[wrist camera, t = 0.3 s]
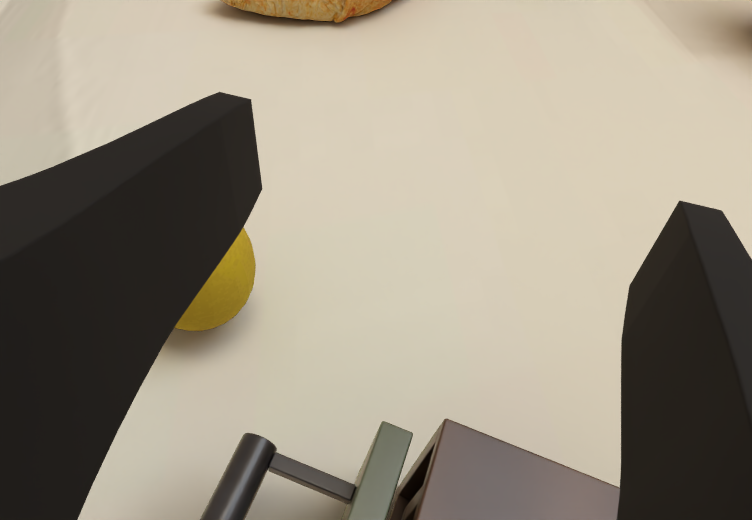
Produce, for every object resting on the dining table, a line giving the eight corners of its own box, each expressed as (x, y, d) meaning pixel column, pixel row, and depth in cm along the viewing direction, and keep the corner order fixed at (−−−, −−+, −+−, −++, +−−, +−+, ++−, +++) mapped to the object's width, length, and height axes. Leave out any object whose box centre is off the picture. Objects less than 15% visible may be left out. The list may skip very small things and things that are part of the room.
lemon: (142, 361, 29) (109, 267, 22) (151, 269, 32) (123, 164, 25) (257, 354, 30) (256, 263, 23) (254, 266, 33) (253, 165, 27)
